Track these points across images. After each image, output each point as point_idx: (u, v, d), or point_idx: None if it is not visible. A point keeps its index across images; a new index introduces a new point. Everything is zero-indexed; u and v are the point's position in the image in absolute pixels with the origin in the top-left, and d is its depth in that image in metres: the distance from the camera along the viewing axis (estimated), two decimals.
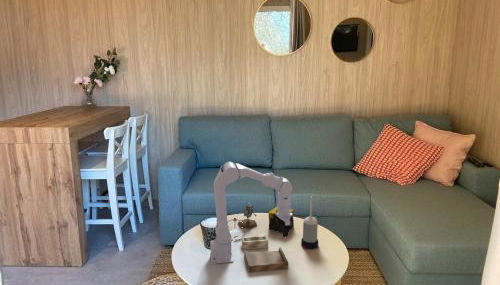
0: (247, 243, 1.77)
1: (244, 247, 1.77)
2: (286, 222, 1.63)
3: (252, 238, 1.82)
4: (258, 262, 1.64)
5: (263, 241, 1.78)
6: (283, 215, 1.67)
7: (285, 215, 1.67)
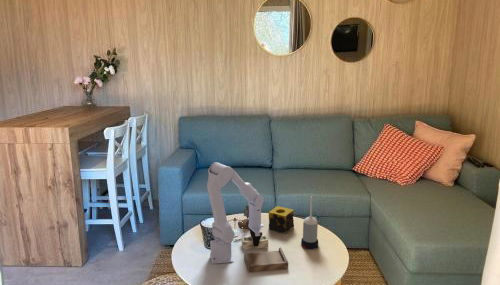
0: (247, 243, 1.77)
1: (244, 247, 1.77)
2: (256, 233, 1.71)
3: None
4: (258, 262, 1.64)
5: (263, 241, 1.78)
6: (254, 226, 1.75)
7: (256, 226, 1.75)
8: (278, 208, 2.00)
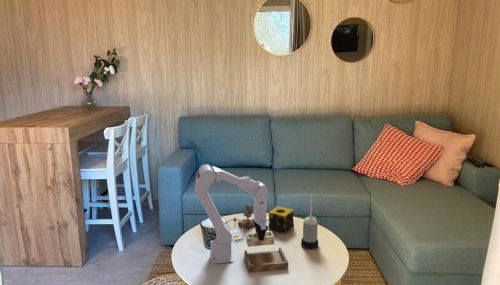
0: (252, 239, 1.68)
1: (249, 244, 1.69)
2: (262, 226, 1.62)
3: (257, 234, 1.73)
4: (258, 262, 1.64)
5: (269, 237, 1.70)
6: (259, 219, 1.66)
7: (261, 219, 1.67)
8: (278, 208, 2.00)
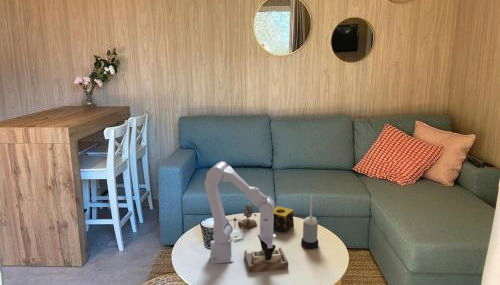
0: (258, 258, 1.61)
1: (255, 262, 1.61)
2: (268, 245, 1.55)
3: (263, 252, 1.65)
4: None
5: (275, 256, 1.62)
6: (266, 237, 1.59)
7: (268, 237, 1.59)
8: (278, 208, 2.00)
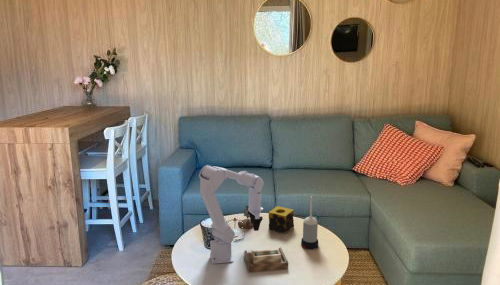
0: (258, 258, 1.61)
1: (255, 262, 1.61)
2: (256, 216, 1.70)
3: (263, 252, 1.65)
4: None
5: (275, 256, 1.62)
6: (254, 209, 1.74)
7: (256, 209, 1.74)
8: (278, 208, 2.00)
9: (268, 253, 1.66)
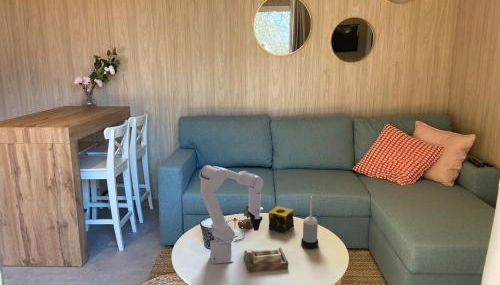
0: (258, 258, 1.61)
1: (255, 262, 1.61)
2: (256, 216, 1.71)
3: (263, 252, 1.65)
4: None
5: (275, 256, 1.62)
6: (254, 209, 1.75)
7: (255, 209, 1.75)
8: (278, 208, 2.00)
9: (268, 253, 1.66)
